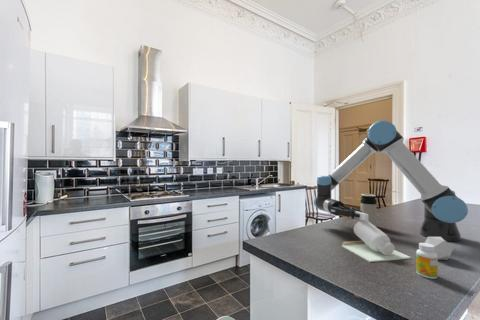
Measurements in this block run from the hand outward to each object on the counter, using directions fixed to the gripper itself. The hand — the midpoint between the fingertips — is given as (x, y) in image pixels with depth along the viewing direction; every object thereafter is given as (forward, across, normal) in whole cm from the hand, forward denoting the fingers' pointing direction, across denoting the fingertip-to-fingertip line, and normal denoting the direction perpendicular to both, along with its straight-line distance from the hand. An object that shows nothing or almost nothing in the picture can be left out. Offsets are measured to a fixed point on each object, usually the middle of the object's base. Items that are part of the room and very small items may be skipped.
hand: (366, 217), depth 96 cm
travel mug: (-31, -26, -13) cm, 43 cm away
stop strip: (-5, 0, -13) cm, 14 cm away
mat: (+3, 0, -13) cm, 13 cm away
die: (+13, -20, -13) cm, 27 cm away
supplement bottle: (+23, -3, -13) cm, 27 cm away
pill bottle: (-5, -1, -5) cm, 7 cm away
